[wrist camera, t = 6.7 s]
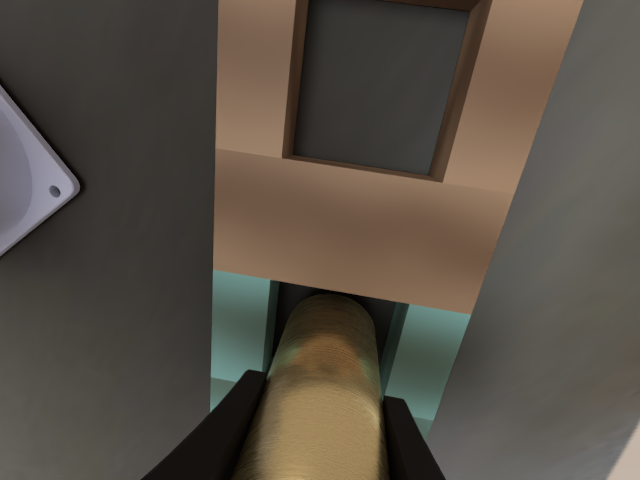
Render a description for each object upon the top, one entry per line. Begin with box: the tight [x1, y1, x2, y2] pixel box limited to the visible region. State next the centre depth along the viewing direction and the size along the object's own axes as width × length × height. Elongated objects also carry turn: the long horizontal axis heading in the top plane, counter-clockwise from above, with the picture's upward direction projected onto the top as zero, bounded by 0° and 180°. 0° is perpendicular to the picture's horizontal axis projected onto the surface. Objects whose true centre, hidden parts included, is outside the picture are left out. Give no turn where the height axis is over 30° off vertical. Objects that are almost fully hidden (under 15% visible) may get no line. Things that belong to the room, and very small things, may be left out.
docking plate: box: [210, 0, 584, 442], centre depth 12 cm, size 20×10×2 cm, turn 172°
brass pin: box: [231, 294, 390, 480], centre depth 10 cm, size 4×4×7 cm
